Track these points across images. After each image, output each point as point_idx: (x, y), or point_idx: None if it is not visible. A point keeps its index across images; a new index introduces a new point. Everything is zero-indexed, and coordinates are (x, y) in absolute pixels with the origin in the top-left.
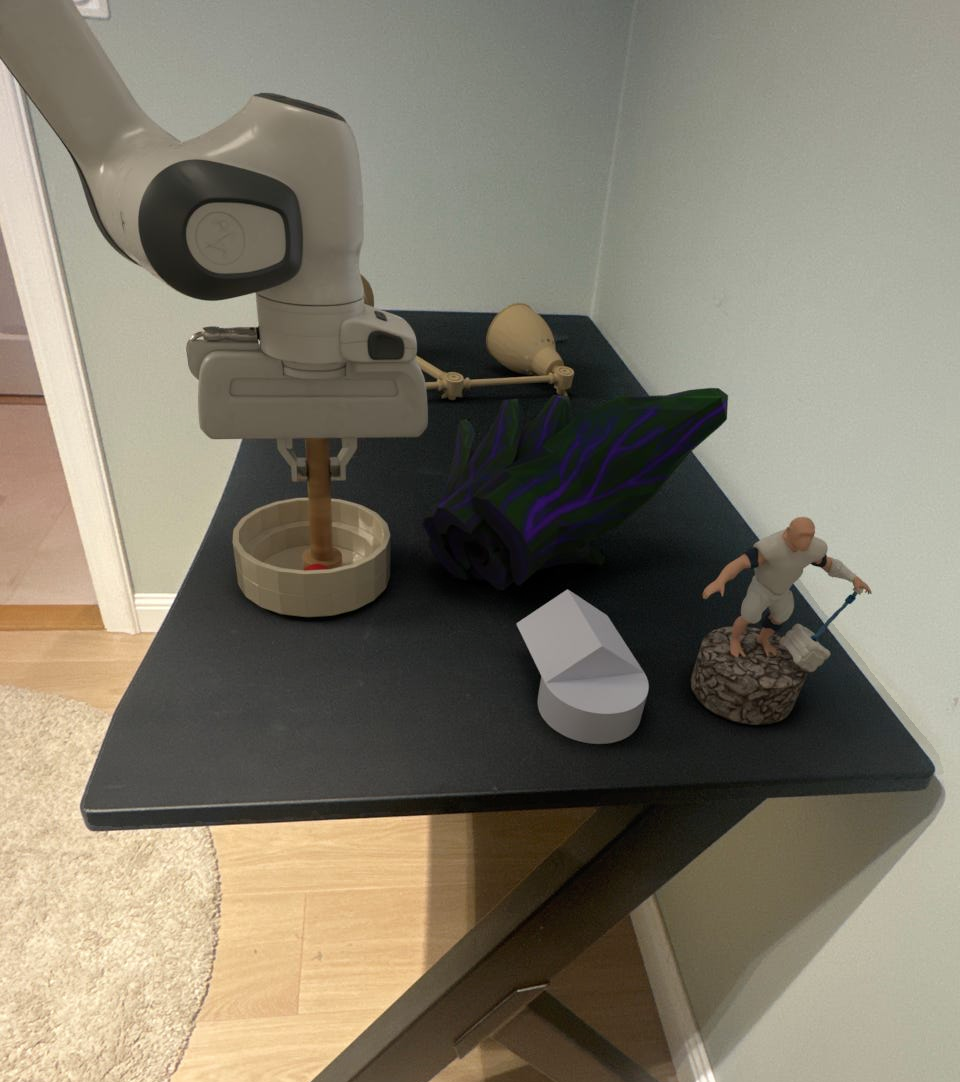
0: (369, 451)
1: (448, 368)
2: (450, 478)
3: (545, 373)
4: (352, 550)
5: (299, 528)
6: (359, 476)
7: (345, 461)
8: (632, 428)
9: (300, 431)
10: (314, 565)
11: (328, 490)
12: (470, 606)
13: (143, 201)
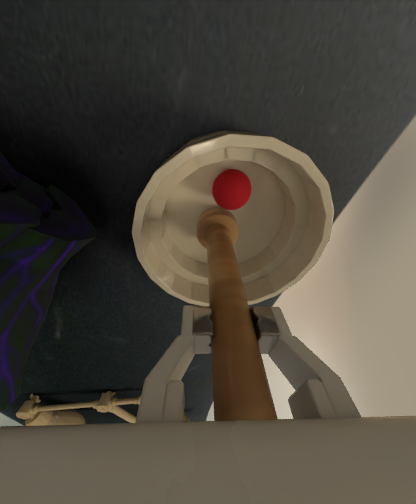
0: None
1: None
2: (3, 309)
3: (41, 411)
4: (183, 254)
5: None
6: (170, 337)
7: (180, 342)
8: None
9: (324, 456)
10: (236, 199)
11: (214, 290)
12: (41, 130)
13: None
